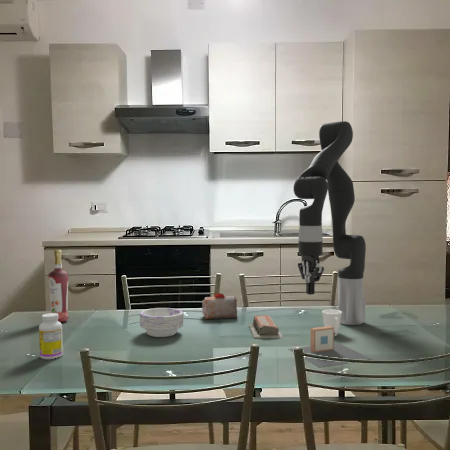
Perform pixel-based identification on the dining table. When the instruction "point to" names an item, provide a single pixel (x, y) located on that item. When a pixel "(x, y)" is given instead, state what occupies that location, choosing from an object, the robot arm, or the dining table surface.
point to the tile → (322, 339)
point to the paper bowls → (161, 321)
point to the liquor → (59, 289)
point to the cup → (332, 319)
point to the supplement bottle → (50, 337)
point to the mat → (334, 355)
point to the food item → (219, 307)
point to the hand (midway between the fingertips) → (310, 294)
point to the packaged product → (264, 328)
